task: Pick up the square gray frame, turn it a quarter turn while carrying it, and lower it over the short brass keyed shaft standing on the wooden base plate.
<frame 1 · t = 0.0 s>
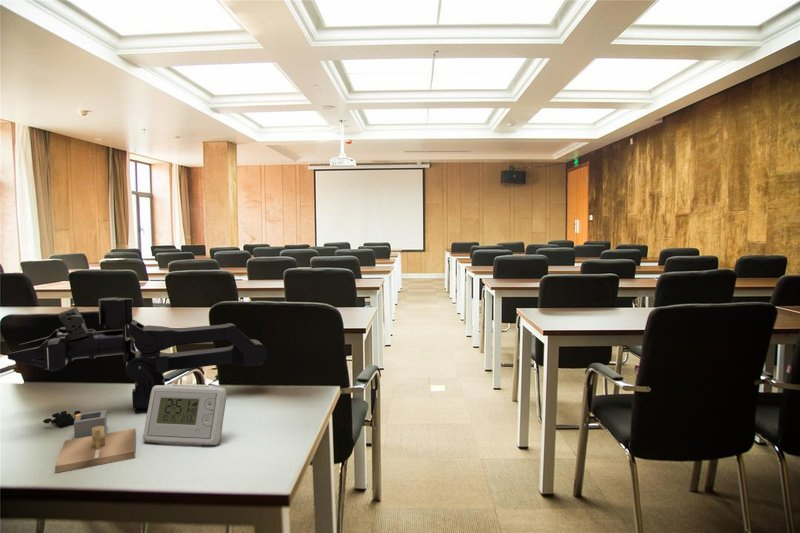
hand: (13, 351, 101), 17 cm above the table, tool horizontal, fingers open, 9 cm apart
wooden base plate: (99, 451, 90), on the table
digital clock: (186, 441, 95), on the table
square gray frame: (91, 434, 98), on the table
wireless earbuds: (63, 425, 104), on the table
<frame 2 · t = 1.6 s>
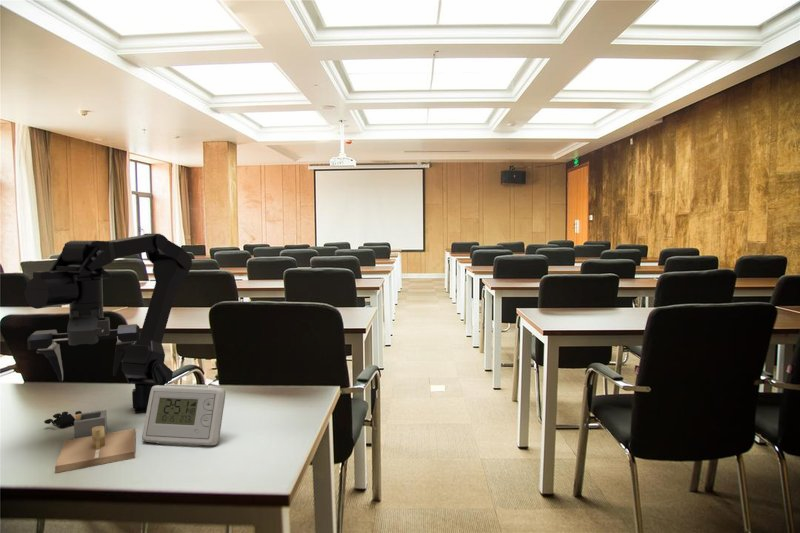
hand: (88, 377, 97), 12 cm above the table, tool pointing down, fingers open, 9 cm apart
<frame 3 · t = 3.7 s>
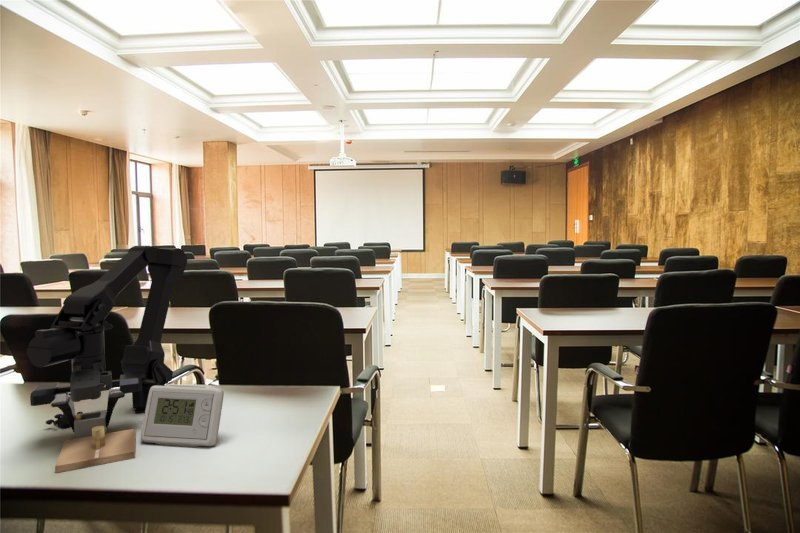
hand: (91, 429, 98), 1 cm above the table, tool pointing down, fingers closed on square gray frame, 5 cm apart
square gray frame: (91, 434, 98), on the table, touching gripper
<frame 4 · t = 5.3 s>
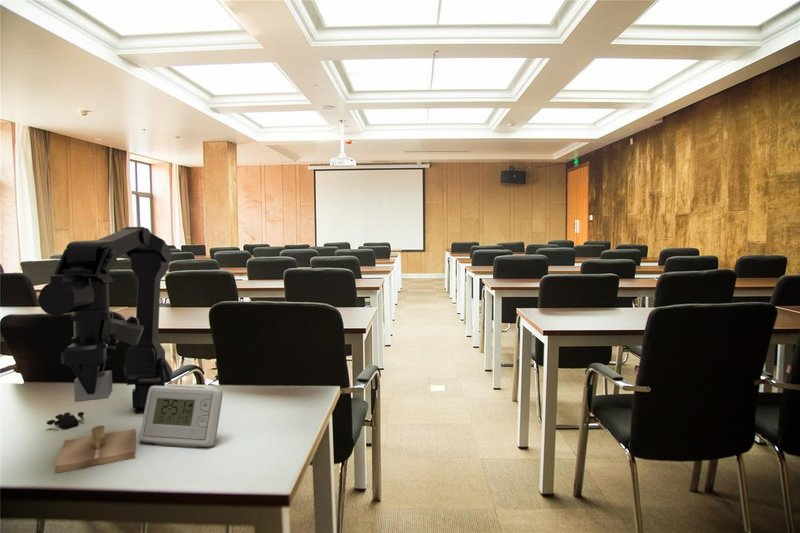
hand: (94, 389, 90), 12 cm above the table, tool pointing down, fingers closed on square gray frame, 5 cm apart
square gray frame: (94, 396, 90), point 11 cm above the table, touching gripper
when the fingers open (4 cm above the table, at t = 7.4 s): square gray frame drops 1 cm, resting on wooden base plate.
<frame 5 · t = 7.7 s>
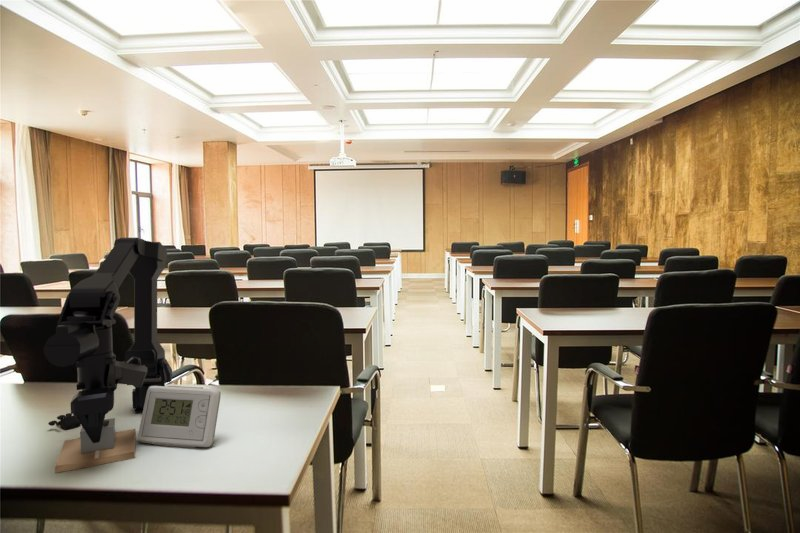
hand: (98, 433, 90), 4 cm above the table, tool pointing down, fingers open, 9 cm apart
square gray frame: (98, 445, 90), point 1 cm above the table, touching wooden base plate
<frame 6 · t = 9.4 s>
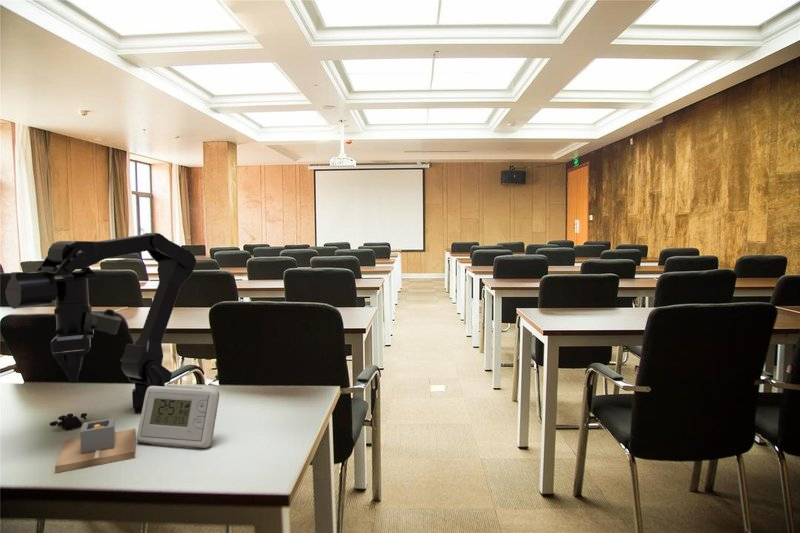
hand: (76, 376, 98), 12 cm above the table, tool pointing down, fingers open, 9 cm apart
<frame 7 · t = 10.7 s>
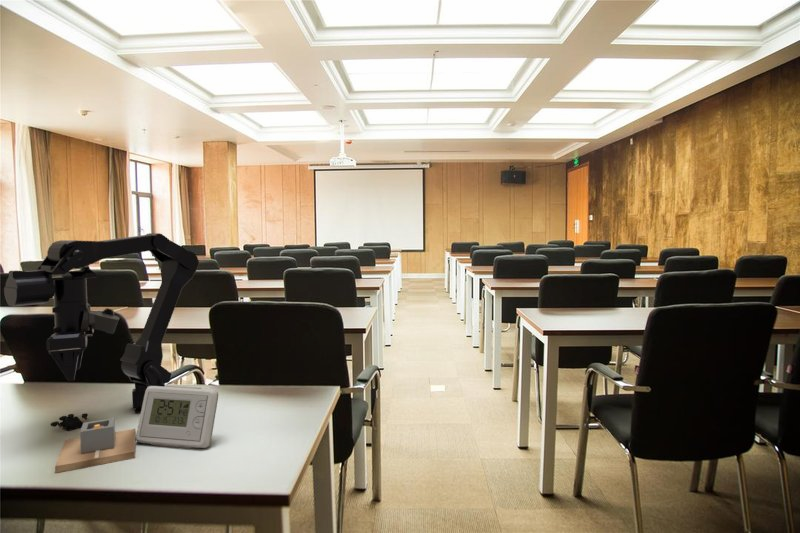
hand: (73, 374, 99), 12 cm above the table, tool pointing down, fingers open, 9 cm apart
at the end: square gray frame 0.0 cm off-centre on the wooden base plate, point 1.3 cm above the wooden base plate's base; square gray frame tilted 1°; the gripper is holding nothing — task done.
